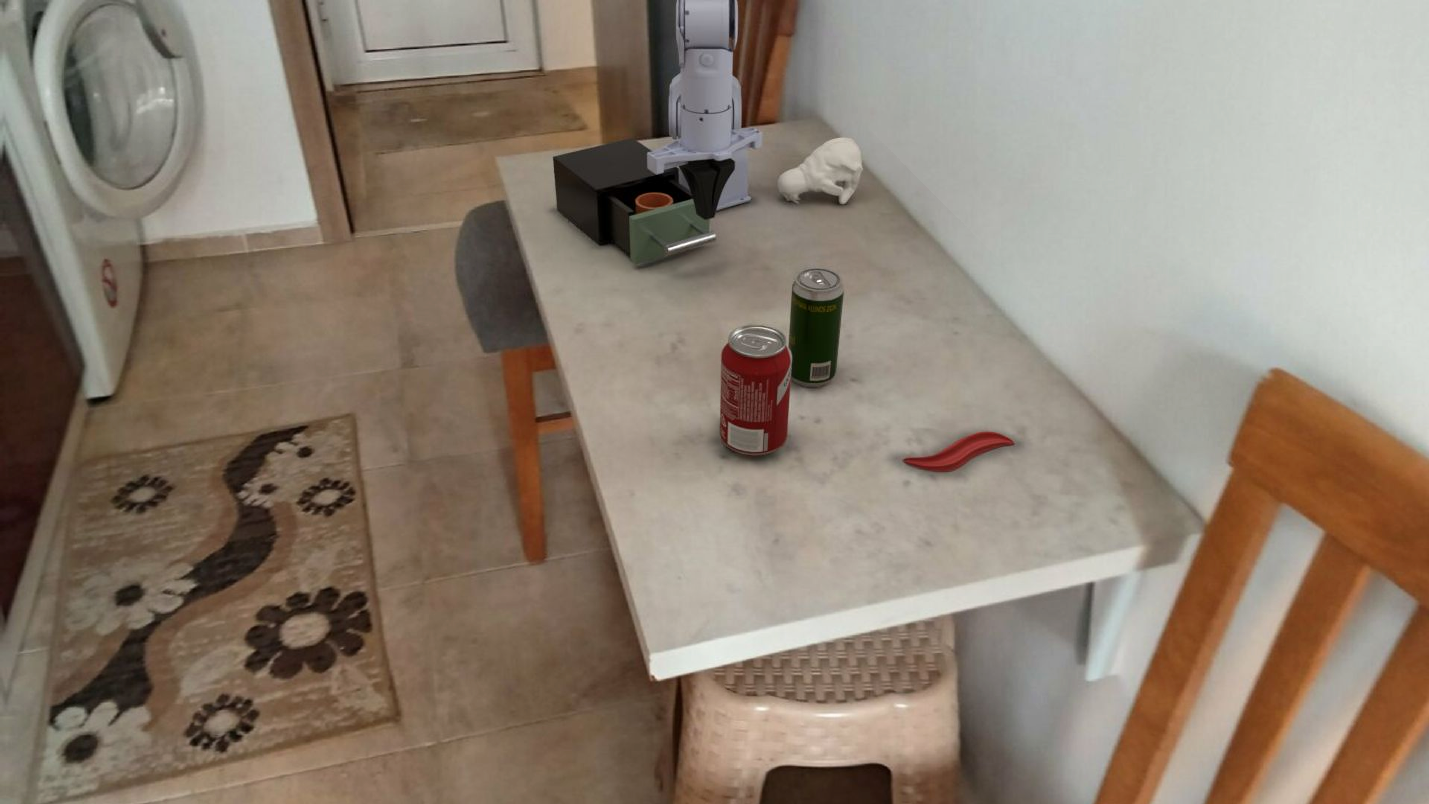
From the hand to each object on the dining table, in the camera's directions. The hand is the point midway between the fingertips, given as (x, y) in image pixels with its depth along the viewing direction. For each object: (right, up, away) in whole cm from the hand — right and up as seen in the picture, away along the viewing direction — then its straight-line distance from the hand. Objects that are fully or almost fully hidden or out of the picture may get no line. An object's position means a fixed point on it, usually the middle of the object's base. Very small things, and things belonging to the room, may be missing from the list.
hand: (705, 215), depth 128 cm
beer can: (+12, -19, -10) cm, 25 cm away
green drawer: (-6, -2, +12) cm, 14 cm away
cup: (-7, 0, +13) cm, 14 cm away
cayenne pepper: (+26, -28, -21) cm, 43 cm away
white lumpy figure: (+16, +7, +26) cm, 31 cm away
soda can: (+5, -26, -20) cm, 33 cm away
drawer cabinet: (-12, +3, +20) cm, 24 cm away
